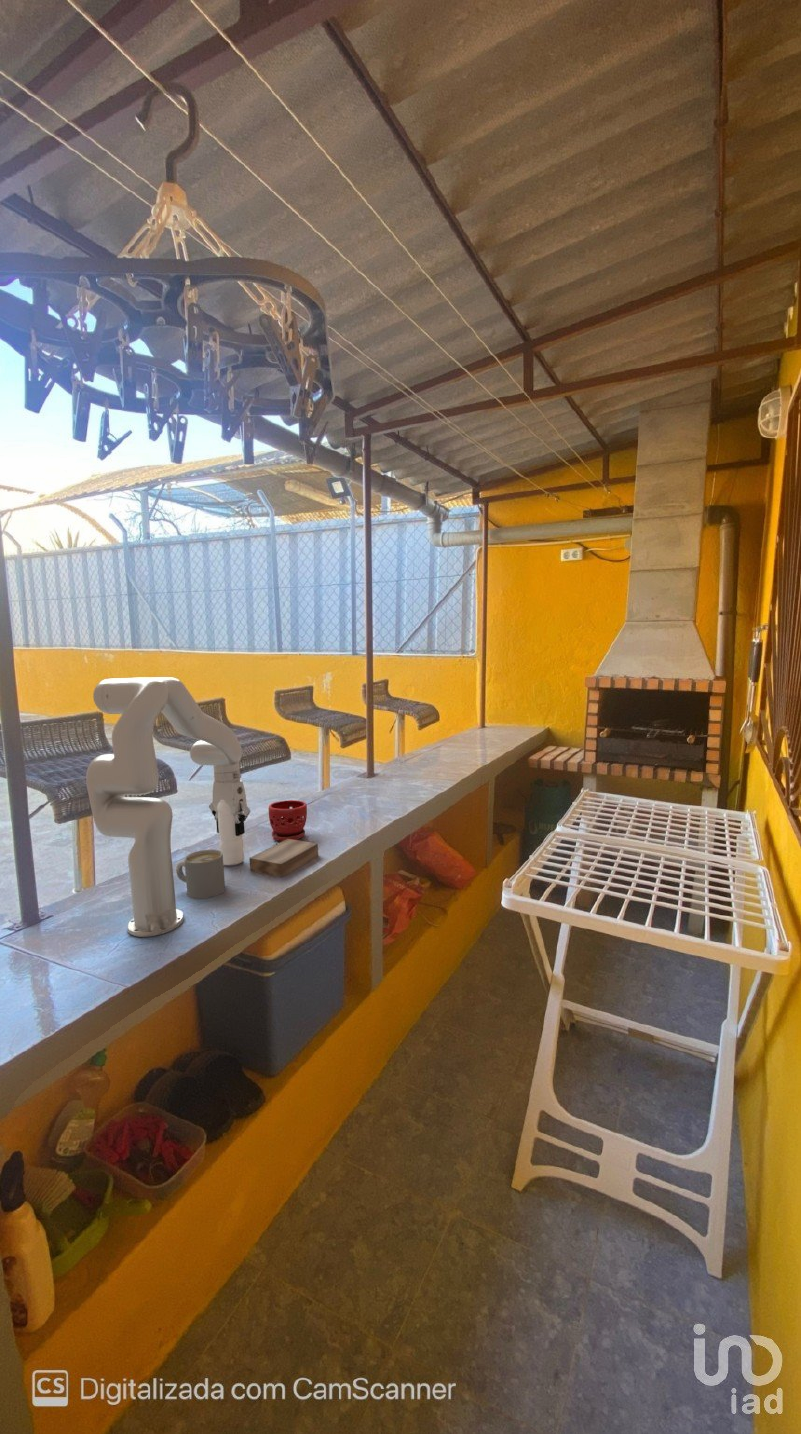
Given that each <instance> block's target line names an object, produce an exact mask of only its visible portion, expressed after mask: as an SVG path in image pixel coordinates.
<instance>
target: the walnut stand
mask: <svg viewBox="0 0 801 1434" xmlns="http://www.w3.org/2000/svg"><path fill="white" fill-rule="evenodd" d="M318 856H319V844H318V843H316V842H311V841H310V842H309V841H303V840H299V839H297V840H292V839H286V840H284V841H280V842H278V843H277V844H275V845H274V844H273V846H271V847H269V848H266V849H265V850H262V851H260V852H259V853H256V854H255V855H252V856H251V857H249V858H248V859H249V867H250V868H249V870H250V872H254V873H259V874H264V875H269V876H273V875H274V877H278V876H279V877H278V878H283V877H286V875H288V874H290V873H293V871H295V870H297V869H298V868H301V867H302V866H303V865H305V864H307V863H308V861H309V862H311V861H312V860H314V859H316V858H317V857H318ZM306 862H307V863H306Z"/></svg>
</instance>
